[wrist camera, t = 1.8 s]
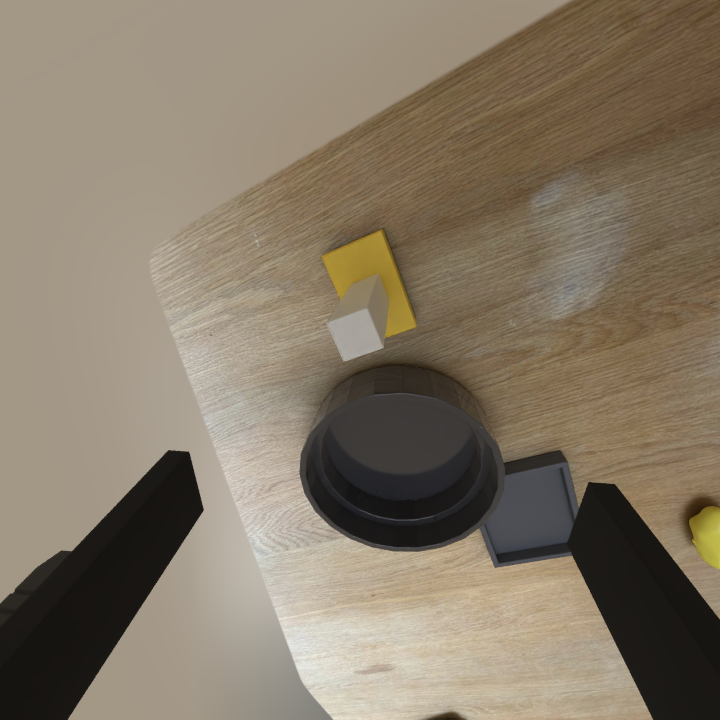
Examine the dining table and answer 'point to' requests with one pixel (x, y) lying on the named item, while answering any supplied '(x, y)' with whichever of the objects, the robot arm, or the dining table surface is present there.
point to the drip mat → (532, 512)
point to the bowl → (402, 460)
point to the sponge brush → (367, 296)
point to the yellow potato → (707, 535)
